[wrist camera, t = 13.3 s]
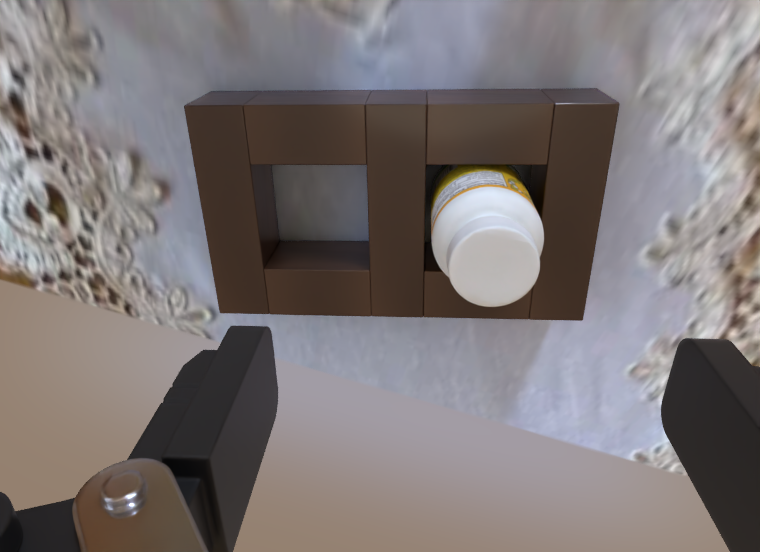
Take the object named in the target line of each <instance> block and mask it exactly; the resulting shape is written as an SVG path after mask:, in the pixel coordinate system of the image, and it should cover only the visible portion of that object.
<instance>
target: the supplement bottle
mask: <svg viewBox="0 0 760 552" xmlns="http://www.w3.org/2000/svg"><path fill="white" fill-rule="evenodd" d="M430 205H431V238H432V249H433V253H434V257H435V259H436V261H437V263H438V265H439V267H440V268H441V270H442V271H443V272H444V273H445V274H446V275H447V276H448V277H449V278H450V281H451V284H452V285H453V287H454V289H455V290H456V291H457V292H458V294H459V295H461V296H462V297H463V298H464V299H466V300H467V301H469V302H471V303H474V304H476V305H480V306H485V307H498V306H504V305H507V304H510V303H513V302H515V301H517V300H519V299H520V298H522V297H523V296H524V295H526V294H527V293H528V292H529V291H530V289H531V288H532V287H533V285H534V284H535V282H536V280H537V278H538V275H539V271H540V255H541V252H542V249H543V244H544V230H543V225H542V222H541V219H540V217H539V214H538V212H537V210H536V208H535V206H534V204H533V202H532V199H531V197H530V195H529V193H528V191H527V189H526V187H525V185H524V183H523V181H522V179H521V176H520V175H519V173H518V172H517V170H516V169H515V168H514V167H513V166H512V165H444V166H443V167H442V168H441V169H440V170H439V172H438V173H437V175H436V177H435V179H434V181H433V184H432V187H431V194H430Z"/></svg>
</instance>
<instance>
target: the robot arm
mask: <svg viewBox="0 0 760 552" xmlns="http://www.w3.org/2000/svg"><path fill="white" fill-rule="evenodd" d="M277 404H278V386H277V376H276V368H275V359H274V350H273V341H272V334H271V330H270V328H269V327H262V326H231V327H230V328H229V329H228V331H227V333H226V335H225V337H224V338H223V340H222V342H221V344H220V346H219V348H218V350H203V351H201V352H200V353H199V354H197V355H196V356H195V357H194V358H192V359H191V360H190V361H189V362H187V363H186V364H185V365H184V366H183V367H182V369H181V371H180V372H179V374H178V376H177V377H176V379H175V381H174V382H173V387H171V388H170V389H169V391H168V392H167V394H166V396H165V397H164V401H163V403H161V404H160V406H159V407H158V409H157V411H156V412H155V414H154V416H153V417H152V419H151V421H150V422H149V424H148V426H147V428H146V429H145V431H144V433H143V434H142V436H141V438H140V439H139V441H138V443H137V444H136V446H135V448H134V449H133V451H132V453H131V454H130V456H129V458H128V459H127V460H126V461H122V462H119V463H116V464H113V465H111V466H109V467H107V468H105V469H103V470H102V471H100V472H98V473H97V474H96V475H94V476H93V477H92V478H91V479H89V480H88V481H87V482H86V483H85V484H84V486H83V487H82V488H81V489H80V491H79V492H78V494H77V495H76V497H75V498H73V499H69V500H66V501H61V502H56V503H52V504H47V505H43V506H38V507H34V508H29V509H24V510H20V511H14V508H13V506H12V504H11V501H10V500H9V498H8V497H7V496H6V495H5V494H4V493H2V492H0V552H233V550H234V547H235V543H236V540H237V537H238V534H239V531H240V527H241V524H242V521H243V518H244V515H245V512H246V509H247V506H248V503H249V499H250V496H251V493H252V490H253V487H254V484H255V481H256V478H257V474H258V471H259V468H260V465H261V462H262V458H263V456H264V452H265V449H266V446H267V443H268V439H269V437H270V434H271V430H272V427H273V424H274V421H275V417H276V412H277ZM661 417H662V424H663V428H664V431H665V433H666V435H667V437H668V439H669V441H670V443H671V444H672V446H673V448H674V450H675V452H676V454H677V455H678V457H679V459H680V461H681V463H682V465H683V466H684V468H685V470H686V472H687V474H688V476H689V477H690V479H691V481H692V483H693V485H694V487H695V488H696V490H697V492H698V494H699V496H700V498H701V499H702V501H703V503H704V505H705V507H706V509H707V510H708V512H709V514H710V516H711V518H712V519H713V521H714V523H715V525H716V527H717V529H718V531H719V532H720V534H721V536H722V538H723V540H724V542H725V543H726V545H727V547H728V549H729V551H730V552H760V367H759V366H752V365H751V364H750V363H749V361H748V360H747V359H746V358H745V357H744V356H743V355H742V353H741V352H740V351H739V350H738V349H737V348H736V346H735V345H734V344H733V343H732V342H731V341H729V340H726V339H692V338H685V339H683V340H682V341H681V342H680V343H679V345H678V348H677V351H676V354H675V358H674V361H673V365H672V368H671V372H670V375H669V379H668V382H667V386H666V389H665V393H664V396H663V400H662V405H661Z"/></svg>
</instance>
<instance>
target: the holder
mask: <svg viewBox="0 0 760 552" xmlns="http://www.w3.org/2000/svg"><path fill="white" fill-rule="evenodd" d="M184 109H185V114H186V120H187V126H188V132H189V137H190V143H191V149H192V155H193V160H194V166H195V172H196V178H197V184H198V189H199V195H200V201H201V207H202V212H203V218H204V224H205V230H206V235H207V241H208V247H209V253H210V258H211V264H212V270H213V276H214V281H215V287H216V293H217V299H218V304H219V310H220V313H243V314H269V313H270V314H283V315H332V316H371V315H372V316H386V317H423V316H424V317H442V318H491V319H533V320H583V316H584V310H585V304H586V298H587V292H588V286H589V280H590V275H591V269H592V263H593V257H594V251H595V245H596V239H597V233H598V228H599V222H600V216H601V210H602V204H603V198H604V192H605V186H606V181H607V175H608V169H609V163H610V157H611V151H612V145H613V139H614V134H615V128H616V122H617V116H618V110H619V102H617V101H615V100H614V99H612V98H611V97H609V96H608V95H606V94H605V93H603V92H601V91H600V90H598V89H596V88H587V89H458V90H372V91H371V90H321V91H263V92H262V91H211V92H209V93H207V94H205V95H204V96H202V97H200V98H198V99H196V100H194V101H192V102H190V103H188V104H187V105H185V106H184ZM366 164H367V190H368V222H369V242H367V241H279V233H278V224H277V215H276V205H275V196H274V187H273V178H272V169H271V165H366ZM426 164H427V165H532V170H531V179H530V188H529V195H530V197H531V199H532V202H533V204H534V206H535V208H536V210H537V212H538V214H539V217H540V219H541V222H542V225H543V230H544V244H543V249H542V252H541V255H540V271H539V275H538V278H537V280H536V282H535V284H534V285H533V287H532V288H531V289H530V291H529V292H528V293H527V294H526V295H524V296H523V297H522V298H520V299H519V300H517V301H515V302H513V303H510V304H507V305H504V306H498V307H485V306H480V305H476V304H474V303H471V302H469V301H467V300H466V299H464V298H463V297H462V296H461V295H459V294H458V292H457V291H456V290H455V289H454V287H453V285H452V284H451V281H450V278H449V277H448V276H447V275H446V274H445V273H444V272H443V271H442V270H441V268H440V267H439V265H438V263H437V261H436V259H435V257H434V253H433V249H432V242H425V191H426Z"/></svg>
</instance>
